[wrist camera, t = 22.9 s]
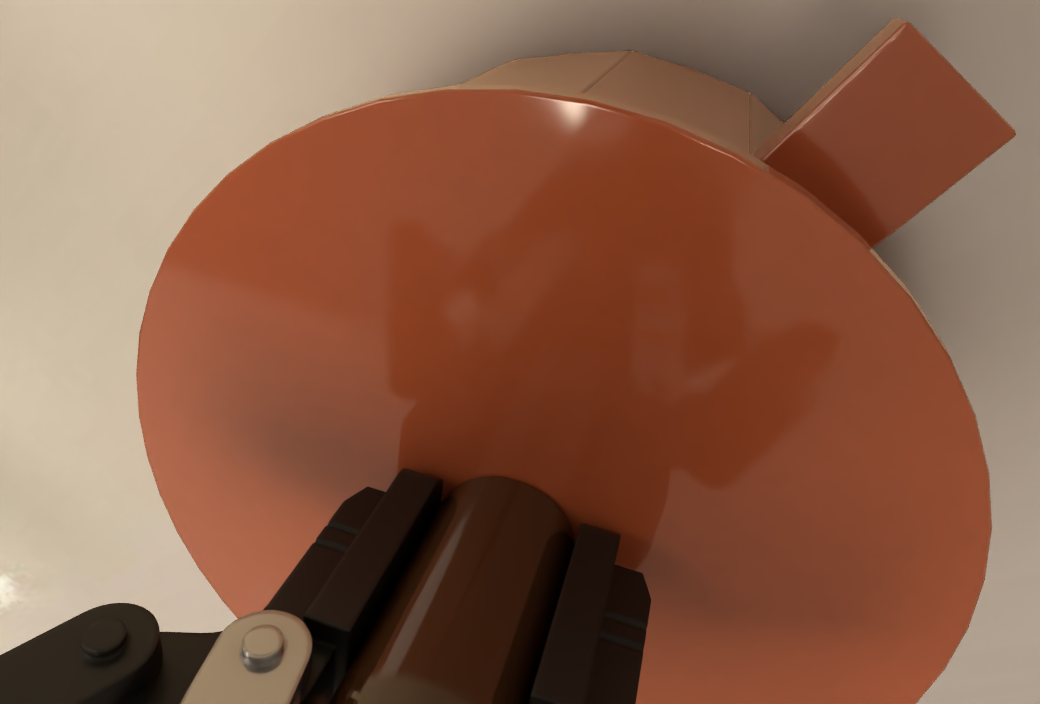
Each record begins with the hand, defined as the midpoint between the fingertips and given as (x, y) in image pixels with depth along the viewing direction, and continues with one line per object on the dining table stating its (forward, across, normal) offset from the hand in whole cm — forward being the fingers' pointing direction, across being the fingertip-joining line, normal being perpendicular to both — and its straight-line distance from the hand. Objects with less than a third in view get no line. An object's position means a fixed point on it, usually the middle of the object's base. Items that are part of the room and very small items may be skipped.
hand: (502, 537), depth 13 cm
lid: (+1, 0, 0) cm, 1 cm away
